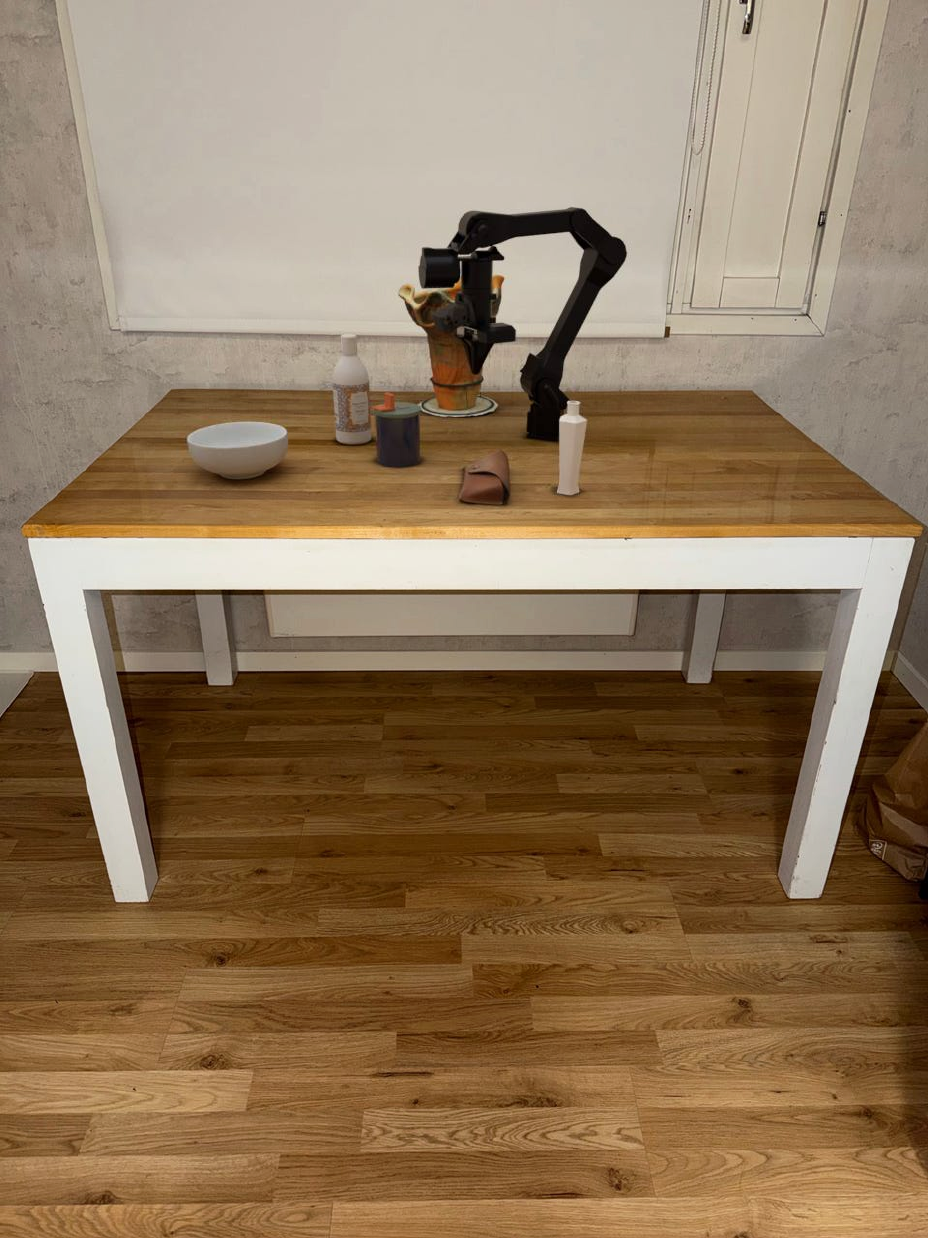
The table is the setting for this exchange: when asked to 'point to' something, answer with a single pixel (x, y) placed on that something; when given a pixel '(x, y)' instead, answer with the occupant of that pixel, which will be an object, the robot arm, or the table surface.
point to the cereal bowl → (238, 448)
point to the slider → (386, 403)
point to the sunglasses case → (487, 480)
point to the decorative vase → (449, 354)
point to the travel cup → (398, 435)
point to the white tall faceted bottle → (570, 448)
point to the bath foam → (351, 395)
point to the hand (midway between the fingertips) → (475, 374)
